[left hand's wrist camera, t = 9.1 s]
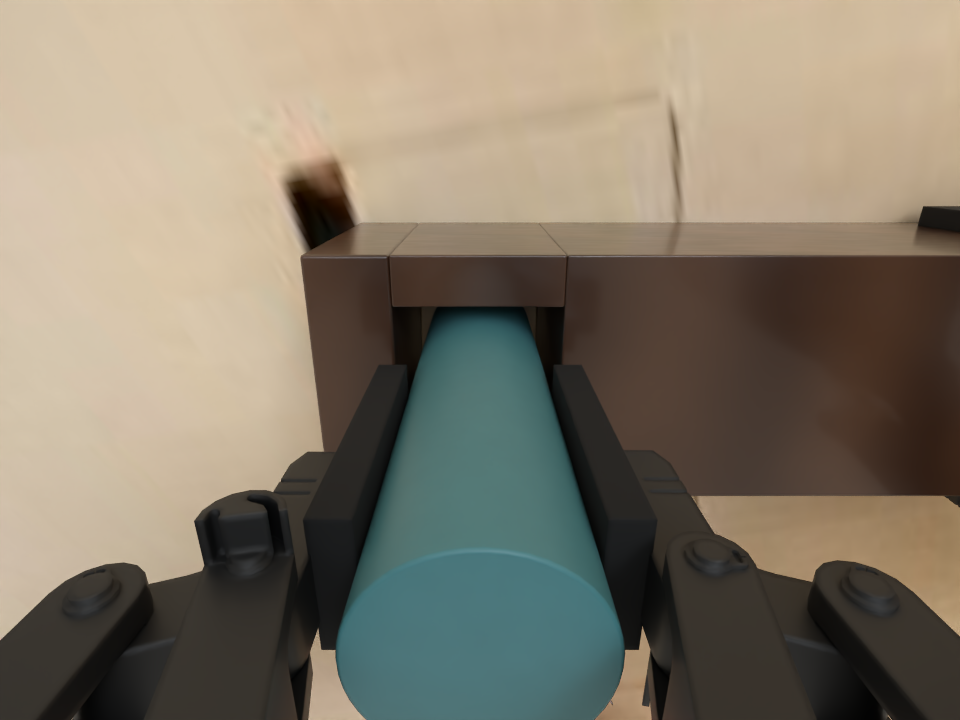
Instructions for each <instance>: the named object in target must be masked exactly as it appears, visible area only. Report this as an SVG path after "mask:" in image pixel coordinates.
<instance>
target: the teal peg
mask: <svg viewBox="0 0 960 720" xmlns="http://www.w3.org/2000/svg"><path fill="white" fill-rule="evenodd" d="M624 658H625V647H624V637H623V634H622V630H621V626H620V622H619V619H618V616H617V613H616V609H615V606H614V603H613V599H612V596H611V593H610V589H609V586H608V583H607V579H606V576H605V573H604V569H603V566H602V563H601V559H600V556H599V553H598V549H597V546H596V543H595V539H594V536H593V533H592V529H591V526H590V523H589V519H588V516H587V513H586V509H585V506H584V503H583V499H582V496H581V493H580V489H579V486H578V483H577V480H576V476H575V473H574V470H573V466H572V463H571V460H570V456H569V453H568V450H567V446H566V443H565V440H564V436H563V433H562V430H561V426H560V423H559V420H558V416H557V413H556V410H555V406H554V403H553V400H552V396H551V393H550V390H549V386H548V383H547V380H546V376H545V373H544V370H543V366H542V363H541V360H540V356H539V353H538V350H537V346H536V343H535V340H534V337H533V333H532V330H531V327H530V323H529V320H528V317H527V314H526V312H525V310H524V308H523V307H437V308H436V310H435V312H434V314H433V317H432V320H431V323H430V327H429V330H428V333H427V337H426V340H425V343H424V347H423V350H422V353H421V357H420V360H419V363H418V367H417V370H416V373H415V377H414V380H413V383H412V387H411V390H410V393H409V397H408V400H407V403H406V407H405V410H404V413H403V417H402V420H401V423H400V427H399V430H398V433H397V437H396V440H395V443H394V447H393V450H392V453H391V457H390V460H389V463H388V467H387V470H386V473H385V477H384V480H383V483H382V487H381V490H380V493H379V497H378V500H377V503H376V507H375V510H374V513H373V517H372V520H371V523H370V527H369V530H368V533H367V537H366V540H365V543H364V547H363V550H362V553H361V557H360V560H359V563H358V567H357V570H356V573H355V577H354V580H353V583H352V587H351V590H350V593H349V597H348V600H347V603H346V607H345V610H344V613H343V617H342V620H341V623H340V627H339V630H338V635H337V640H336V663H337V669H338V675H339V678H340V681H341V684H342V686H343V689H344V691H345V692H346V694H347V696H348V698H349V700H350V701H351V703H352V704H353V705H354V707H355V708H356V709H357V711H358V712H359V713H360V714H361V715H362V716H363V717H364V718H365V719H366V720H594V719H596V717H597V716H598V715H599V714H600V713H601V712H602V711H603V710H604V709H605V707H606V706H607V704H608V703H609V701H610V700H611V699H612V697H613V695H614V693H615V691H616V689H617V687H618V685H619V682H620V679H621V675H622V672H623V667H624Z"/></svg>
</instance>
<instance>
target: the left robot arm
mask: <svg viewBox="0 0 960 720" xmlns="http://www.w3.org/2000/svg"><path fill="white" fill-rule="evenodd" d="M407 400H408V380H407V365H378V367H377V369H376V371H375V373H374V375H373V377H372V379H371V382H370V384H369V386H368V388H367V390H366V392H365V394H364V396H363V398H362V400H361V402H360V404H359V406H358V408H357V410H356V412H355V414H354V416H353V418H352V420H351V422H350V424H349V426H348V428H347V430H346V432H345V434H344V437H343V439H342V441H341V443H340V445H339V447H338V449H337V451H336V452H307V453H305V454H304V455H303V456H301V457H300V458H299V459H297V460H296V461H295V462H293V463H292V464H290V466H289V468H288V469H287V471H286V472H285V474H284V476H283V477H282V479H281V482H279V484H278V485H277V487H276V489H275V490H274V492H270V491H267V490H249V491H244V492H240V493H235V494H231V495H229V496H227V497H224V498H222V499H219V500H217V501H215V502H214V503H212V504H211V505H210V506H208V507H207V508H205V509H204V510H202V512H201V513H200V514H199V516H198V517H197V518H196V519H195V521H194V523H195V527H196V531H197V536H198V540H199V544H200V548H201V553H202V557H203V561H204V568H203V570H202V571H201V572H197V573H194V574H191V575H187V576H183V577H179V578H174V579H170V580H165V581H161V582H157V583H152V584H148V581H147V577H146V574H145V572H144V571H143V570H142V569H141V568H140V567H139V566H138V565H133V564H128V563H115V564H106V565H102V566H99V567H96V568H93V569H90V570H87V571H84V572H82V573H80V574H78V575H76V576H74V577H72V578H70V579H69V580H67V581H65V582H64V583H62V584H61V585H60V586H58V587H57V588H56V589H54V590H53V591H52V592H51V593H49V594H48V595H47V596H46V597H45V598H44V599H43V600H42V601H41V602H40V603H39V604H38V605H37V606H36V607H35V608H34V609H33V610H31V611H30V612H29V613H28V614H27V615H26V616H25V617H24V618H23V619H22V620H21V621H20V622H19V623H18V624H17V625H16V626H15V627H14V628H13V629H12V630H11V631H10V632H9V633H8V634H6V635H5V636H4V637H3V638H2V639H1V640H0V720H71V719H72V718H73V719H72V720H308V716H309V706H310V696H311V686H312V677H313V671H312V663H311V657H310V650H311V647H312V644H313V641H314V638H315V635H316V632H317V630H318V629H319V636H320V642H321V649H322V650H336V640H337V635H338V630H339V627H340V623H341V620H342V617H343V613H344V610H345V607H346V603H347V600H348V597H349V593H350V590H351V587H352V583H353V580H354V577H355V573H356V570H357V567H358V563H359V560H360V557H361V553H362V550H363V547H364V543H365V540H366V537H367V533H368V530H369V527H370V523H371V520H372V517H373V513H374V510H375V507H376V503H377V500H378V497H379V493H380V490H381V487H382V483H383V480H384V477H385V473H386V470H387V467H388V463H389V460H390V457H391V453H392V450H393V447H394V443H395V440H396V437H397V433H398V430H399V427H400V423H401V420H402V417H403V413H404V410H405V407H406V403H407ZM552 400H553V403H554V406H555V410H556V413H557V416H558V420H559V423H560V426H561V430H562V433H563V436H564V440H565V443H566V446H567V450H568V453H569V456H570V460H571V463H572V466H573V470H574V473H575V476H576V480H577V483H578V486H579V489H580V493H581V496H582V499H583V503H584V506H585V509H586V513H587V516H588V519H589V523H590V526H591V529H592V533H593V536H594V539H595V543H596V546H597V549H598V553H599V556H600V559H601V563H602V566H603V569H604V573H605V576H606V579H607V583H608V586H609V589H610V593H611V596H612V599H613V603H614V606H615V609H616V613H617V616H618V619H619V622H620V626H621V630H622V634H623V637H624V647H625V650H639V645H640V638H641V631H642V626H643V629H644V632H645V635H646V637H647V640H648V643H649V646H650V649H651V650H650V657H649V663H648V669H647V676H646V682H645V689H644V695H643V702H642V705H643V706H648V707H649V704H650V705H651V715H652V720H891V719H892V720H960V636H959V635H958V634H957V633H955V632H954V631H953V630H952V629H951V628H950V627H949V626H948V625H947V624H946V623H945V622H944V621H943V620H942V619H941V618H940V617H939V616H938V615H937V614H936V613H935V612H933V611H932V610H931V609H930V608H929V607H928V606H927V605H926V604H925V603H924V602H923V601H922V600H921V599H920V598H919V597H918V596H917V595H916V594H915V593H914V592H912V591H911V590H910V589H908V588H907V587H906V586H905V585H903V584H902V583H901V582H899V581H898V580H897V579H895V578H893V577H891V576H889V575H887V574H885V573H883V572H881V571H879V570H878V569H875V568H872V567H869V566H866V565H863V564H859V563H856V562H848V561H838V560H837V561H832V562H827V563H823V564H822V565H821V566H820V567H819V568H818V569H817V570H816V572H815V575H814V579H813V582H809V581H805V580H800V579H796V578H791V577H787V576H783V575H778V574H774V573H771V572H767V571H764V570H760V569H758V568H757V567H756V564H755V563H754V561H753V560H752V559H751V557H750V556H749V554H748V553H747V552H746V551H745V550H743V549H742V548H741V547H740V546H738V545H737V544H736V543H734V542H732V541H730V540H728V539H726V538H724V537H722V536H720V535H716V534H714V532H713V531H712V529H711V527H710V526H709V524H708V523H707V521H706V519H705V518H704V516H703V515H702V513H701V511H700V510H699V508H698V507H697V505H696V503H695V502H694V500H693V499H692V497H691V495H690V494H689V493H687V489H686V487H685V486H684V484H683V483H682V481H680V480H679V476H678V475H677V473H676V471H675V470H674V468H673V467H672V465H671V463H670V462H668V461H667V460H666V459H664V458H663V457H662V456H660V455H659V454H657V453H656V452H655V451H653V450H623V448H622V446H621V444H620V442H619V440H618V438H617V436H616V434H615V432H614V430H613V428H612V426H611V424H610V422H609V420H608V418H607V415H606V413H605V411H604V409H603V407H602V405H601V403H600V401H599V399H598V397H597V395H596V393H595V391H594V389H593V387H592V385H591V383H590V381H589V379H588V377H587V375H586V373H585V371H584V369H583V367H582V365H554V368H553V386H552ZM888 715H889V716H890V718H891V719H890V718H889V717H888Z"/></svg>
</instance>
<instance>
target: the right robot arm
mask: <svg viewBox="0 0 960 720" xmlns="http://www.w3.org/2000/svg"><path fill="white" fill-rule="evenodd" d="M918 226H923V227H930V228H936V229H943V230H949V231H956V232H960V206H923V209H922V213H921V216H920V219H919V223H918ZM945 497H946V498H949V500H950V501H952V502H953V503H954V504H956V505H958V507H960V496H945Z"/></svg>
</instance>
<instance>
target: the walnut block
mask: <svg viewBox="0 0 960 720" xmlns="http://www.w3.org/2000/svg"><path fill="white" fill-rule="evenodd" d="M301 267H302V275H303V283H304V291H305V300H306V308H307V316H308V324H309V333H310V341H311V349H312V357H313V366H314V374H315V382H316V390H317V399H318V407H319V415H320V423H321V432H322V440H323V448H324V452H336V451H337V449H338V447H339V445H340V443H341V441H342V439H343V437H344V434H345V432H346V430H347V428H348V426H349V424H350V422H351V420H352V418H353V416H354V414H355V412H356V410H357V408H358V406H359V404H360V402H361V400H362V398H363V396H364V394H365V392H366V390H367V388H368V386H369V384H370V382H371V379H372V377H373V375H374V373H375V371H376V369H377V367H378V365H407V380H408V397H409V393H410V390H411V387H412V383H413V380H414V377H415V373H416V370H417V367H418V363H419V360H420V357H421V353H422V350H423V347H424V343H425V340H426V337H427V333H428V330H429V327H430V323H431V320H432V317H433V314H434V312H435V310H436V308H437V307H523V308H524V310H525V312H526V314H527V317H528V320H529V323H530V327H531V330H532V333H533V337H534V340H535V343H536V346H537V350H538V353H539V356H540V360H541V363H542V366H543V370H544V373H545V376H546V380H547V383H548V386H549V390H550V393H551V396H552V386H553V368H554V365H582V367H583V369H584V371H585V373H586V375H587V377H588V379H589V381H590V383H591V385H592V387H593V389H594V391H595V393H596V395H597V397H598V399H599V401H600V403H601V405H602V407H603V409H604V411H605V413H606V415H607V418H608V420H609V422H610V424H611V426H612V428H613V430H614V432H615V434H616V436H617V438H618V440H619V442H620V444H621V446H622V448H623V450H653V451H655V452H656V453H657V454H659V455H660V456H662V457H663V458H664V459H666V460H667V461H668V462H670V463H671V465H672V467H673V468H674V470H675V471H676V473H677V475H678V476H679V480H680V481H682V483H683V484H684V486H685V487H686V489H687V493H689V494H690V495H691V496H960V232H956V231H949V230H943V229H936V228H930V227H923V226H918V223H539V224H538V223H419V224H418V223H360V224H359V225H357V226H355V227H353V228H351V229H349V230H348V231H346V232H344V233H342V234H340V235H338V236H336V237H335V238H333V239H331V240H329V241H327V242H325V243H324V244H322V245H320V246H318V247H316V248H314V249H312V250H311V251H309V252H307V253H305V254H303V255H301Z"/></svg>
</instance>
